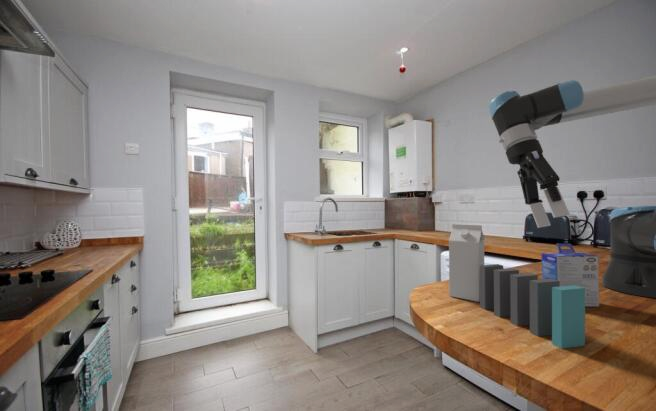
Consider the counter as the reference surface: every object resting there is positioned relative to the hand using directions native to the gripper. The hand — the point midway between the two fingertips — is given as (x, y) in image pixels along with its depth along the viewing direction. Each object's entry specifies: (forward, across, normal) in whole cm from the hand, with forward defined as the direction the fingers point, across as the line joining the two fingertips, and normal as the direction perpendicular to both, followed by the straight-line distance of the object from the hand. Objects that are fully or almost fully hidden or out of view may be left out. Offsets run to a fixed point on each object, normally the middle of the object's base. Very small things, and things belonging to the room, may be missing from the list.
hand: (552, 222), depth 65 cm
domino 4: (+22, +13, -12) cm, 28 cm away
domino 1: (+17, +3, -18) cm, 25 cm away
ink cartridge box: (+19, -8, -1) cm, 21 cm away
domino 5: (+23, +16, -9) cm, 30 cm away
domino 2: (+19, +6, -16) cm, 25 cm away
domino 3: (+20, +9, -14) cm, 26 cm away
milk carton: (+15, -4, -23) cm, 27 cm away
